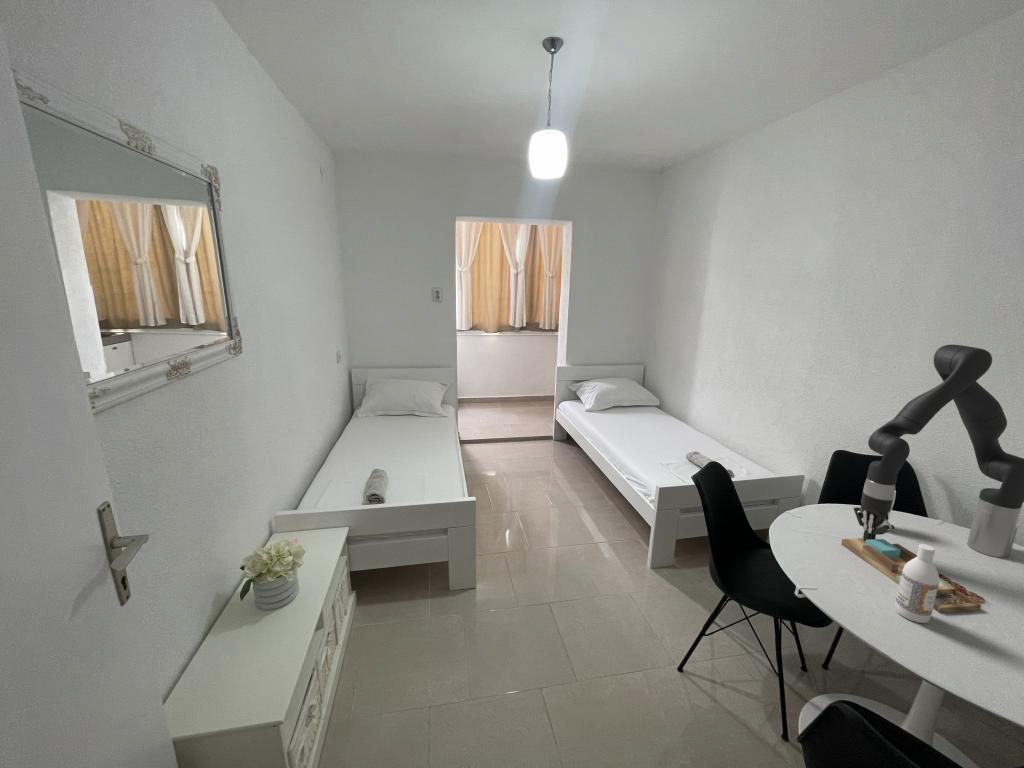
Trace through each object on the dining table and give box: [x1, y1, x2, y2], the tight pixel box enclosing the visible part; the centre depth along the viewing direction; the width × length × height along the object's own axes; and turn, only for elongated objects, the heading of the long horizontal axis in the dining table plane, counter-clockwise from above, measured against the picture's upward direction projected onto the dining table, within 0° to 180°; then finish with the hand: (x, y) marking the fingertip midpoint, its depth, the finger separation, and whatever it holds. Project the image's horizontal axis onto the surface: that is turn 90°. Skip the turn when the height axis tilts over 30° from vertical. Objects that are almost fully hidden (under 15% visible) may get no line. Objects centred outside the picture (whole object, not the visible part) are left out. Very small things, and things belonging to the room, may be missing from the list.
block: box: [865, 538, 901, 559], centre depth 137 cm, size 6×6×3 cm
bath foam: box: [894, 543, 940, 624], centre depth 112 cm, size 7×7×20 cm
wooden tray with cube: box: [841, 537, 982, 614], centre depth 130 cm, size 12×32×4 cm, turn 5°
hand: (868, 541), depth 142 cm, fingers closed
